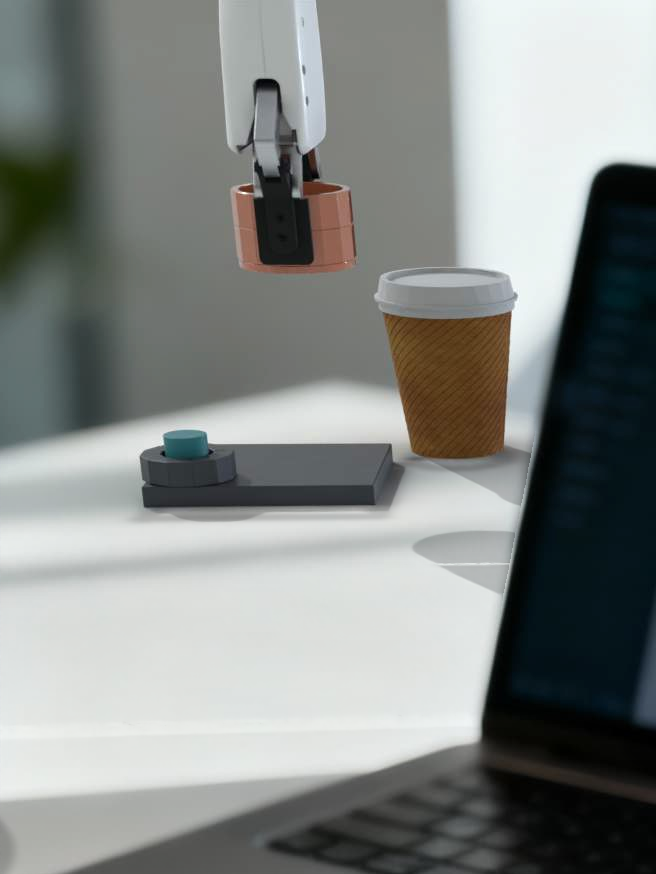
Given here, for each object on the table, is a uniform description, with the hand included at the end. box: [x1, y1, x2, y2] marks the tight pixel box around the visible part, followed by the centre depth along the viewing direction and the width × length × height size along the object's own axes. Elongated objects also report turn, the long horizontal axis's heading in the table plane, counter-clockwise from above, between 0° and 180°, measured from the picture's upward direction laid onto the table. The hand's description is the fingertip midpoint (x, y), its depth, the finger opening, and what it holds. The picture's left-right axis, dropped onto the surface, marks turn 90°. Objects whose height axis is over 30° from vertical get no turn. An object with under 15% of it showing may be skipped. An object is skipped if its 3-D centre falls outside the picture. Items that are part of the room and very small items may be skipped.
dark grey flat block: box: [138, 442, 394, 508], centre depth 156 cm, size 14×12×3 cm
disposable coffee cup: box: [373, 266, 519, 460], centre depth 165 cm, size 10×10×12 cm
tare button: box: [162, 429, 209, 458], centre depth 151 cm, size 3×3×2 cm
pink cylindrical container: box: [229, 181, 357, 275], centre depth 151 cm, size 7×7×5 cm
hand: (296, 252), depth 152 cm, fingers closed on pink cylindrical container, 7 cm apart
